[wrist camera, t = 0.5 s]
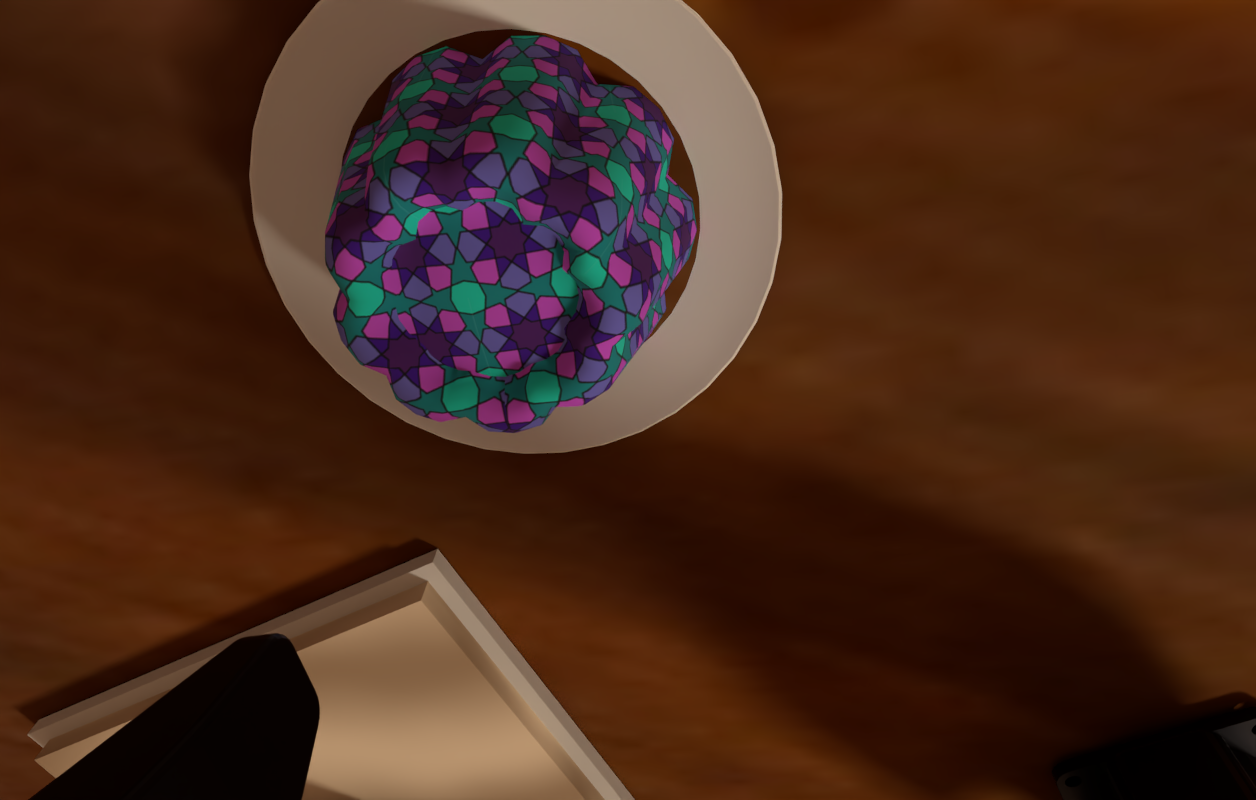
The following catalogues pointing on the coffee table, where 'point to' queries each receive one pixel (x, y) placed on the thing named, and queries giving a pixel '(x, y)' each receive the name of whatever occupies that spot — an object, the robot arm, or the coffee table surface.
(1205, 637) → the coffee table surface
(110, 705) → the mat
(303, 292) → the purple round dome
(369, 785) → the lid
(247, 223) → the coffee table surface
